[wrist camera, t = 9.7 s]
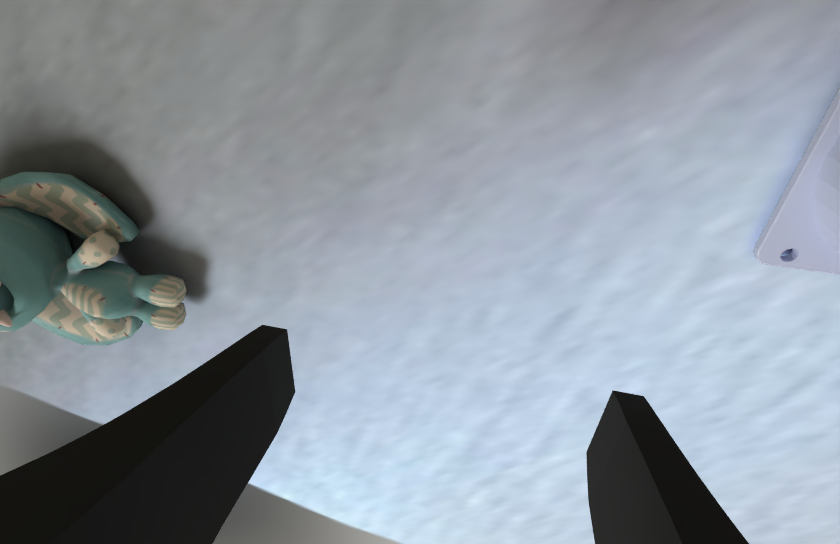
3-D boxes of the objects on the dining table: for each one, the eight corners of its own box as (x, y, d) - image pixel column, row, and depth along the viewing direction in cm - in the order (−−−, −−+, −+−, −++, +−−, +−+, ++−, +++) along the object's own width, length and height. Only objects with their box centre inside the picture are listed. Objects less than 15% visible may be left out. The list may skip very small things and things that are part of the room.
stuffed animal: (145, 440, 22) (-136, 388, 20) (205, 338, 28) (-7, 290, 26) (132, 272, 16) (-271, 174, 14) (212, 187, 22) (-63, 110, 20)
